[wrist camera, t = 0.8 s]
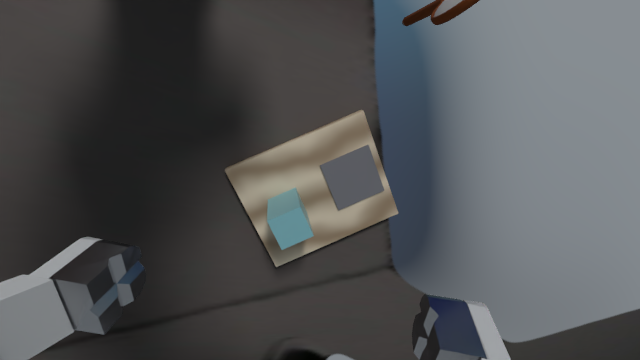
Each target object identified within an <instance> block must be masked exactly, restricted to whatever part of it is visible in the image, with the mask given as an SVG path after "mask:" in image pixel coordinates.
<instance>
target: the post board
mask: <svg viewBox="0 0 640 360" xmlns="http://www.w3.org/2000/svg"><path fill="white" fill-rule="evenodd" d="M366 145H369V147H370V150H371V153H372V156H373V159H374V162H375V165H376V167H377V170H378V173H379V176H380V179H381V182H382V185H383V187H384V191H382V192H380V193H377V194H375V195H373V196H371V197H368V198H366V199H364V200H361V201H359V202H357V203H355V204H352V205H350V206H348V207H345V208H343V209H341V210H338V208H337V206H336V203H335V201H334V198H333V196H332V194H331V191H330V189H329V186H328V184H327V182H326V179H325V177H324V174H323V172H322V170H321V167H320V165H322V164H324V163H326V162H329V161H331V160H333V159H335V158H338V157H340V156H342V155H345V154H347V153H349V152H352V151H354V150H356V149H359V148H361V147H363V146H366ZM225 172H226V174H227V176H228V178H229V180H230V181H231V183H232V185H233V187H234V189H235V191H236V193H237V195H238V196H239V198H240V200H241V202H242V204H243V206H244V208H245V210H246V211H247V213H248V215H249V217H250V219H251V221H252V223H253V225H254V226H255V228H256V230H257V232H258V234H259V236H260V238H261V240H262V241H263V243H264V245H265V247H266V249H267V251H268V253H269V255H270V256H271V258H272V260H273V262H274V264H275V266H276V267H278V266H280V265H283V264H285V263H287V262H289V261H292V260H294V259H296V258H298V257H301V256H303V255H305V254H307V253H310V252H312V251H314V250H317V249H319V248H321V247H323V246H326V245H328V244H330V243H332V242H335V241H337V240H339V239H341V238H344V237H346V236H348V235H351V234H353V233H355V232H357V231H360V230H362V229H364V228H366V227H369V226H371V225H373V224H375V223H378V222H380V221H382V220H385V219H387V218H389V217H391V216H394V215H396V214H398V211H397V208H396V205H395V202H394V199H393V196H392V193H391V191H390V187H389V184H388V181H387V178H386V176H385V173H384V170H383V167H382V164H381V161H380V158H379V155H378V152H377V149H376V146H375V143H374V140H373V137H372V135H371V132H370V129H369V126H368V123H367V120H366V117H365V114H364V111H362V110H360V111H357V112H355V113H353V114H350V115H348V116H346V117H343V118H341V119H339V120H336V121H334V122H332V123H329V124H327V125H325V126H322V127H320V128H318V129H315V130H313V131H311V132H308V133H306V134H304V135H301V136H299V137H297V138H294V139H292V140H290V141H287V142H285V143H283V144H280V145H278V146H276V147H273V148H271V149H269V150H266V151H264V152H262V153H259V154H257V155H255V156H252V157H250V158H248V159H245V160H243V161H241V162H238V163H236V164H234V165H231V166H229V167H227V168H226V169H225ZM295 187H296V189H297V192H298V194H299V196H300V198H301V200H302V203H303V205H304V207H305V209H306V211H307V214H308V217H309V221H310V224H311V228H312V231H313V235H314V236H313V237H311V238H308V239H306V240H304V241H301V242H299V243H297V244H295V245H292V246H290V247H288V248H286V249H283V250H282V249H281V248H280V246H279V244H278V242H277V240H276V238H275V236H274V234H273V232H272V230H271V228H270V226H269V224H268V222H267V208H268V199H270V198H272V197H275V196H277V195H279V194H282V193H284V192H286V191H289V190H291V189H293V188H295Z"/></svg>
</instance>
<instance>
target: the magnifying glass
mask: <svg viewBox="0 0 640 360" xmlns="http://www.w3.org/2000/svg"><path fill="white" fill-rule="evenodd" d="M478 1H479V0H436V1H434V2H432V3H430V4H429V5H427V6H425V7H423V8H421V9H419V10H418V11H416V12H414V13H412V14H410V15H409V16H407V17H405V18H404V19H403V21H402V24H403V25H405V26H408V25H411V24H413V23H415V22H417V21H419V20H422V19H424V18H426V17H428V16H430V15H431V21H432V22H433V24H435V25H439V24H443V23H445V22H447V21H449V20H451V19H452V18H454V17H456V16H458V15H459V14H461V13H462V12H464V11H465V10H467V9H468V8H470V7H471V6H472V5H474V4H475V3H477V2H478Z"/></svg>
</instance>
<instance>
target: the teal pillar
mask: <svg viewBox="0 0 640 360" xmlns="http://www.w3.org/2000/svg"><path fill="white" fill-rule="evenodd" d="M267 222H268V224H269V226H270V228H271V230H272V232H273V234H274V236H275V238H276V240H277V242H278V244H279V246H280V248H281V249H282V250H283V249H286V248H288V247H290V246H292V245H295V244H297V243H299V242H301V241H304V240H306V239H308V238H311V237H313V236H314V235H313V231H312V228H311V224H310V221H309V217H308V214H307V211H306V209H305V207H304V205H303V203H302V200H301V198H300V196H299V194H298V192H297V189H296V187H295V188H293V189H291V190H289V191H286V192H284V193H282V194H279V195H277V196H275V197H272V198H270V199H268V208H267Z"/></svg>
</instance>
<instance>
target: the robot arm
mask: <svg viewBox="0 0 640 360" xmlns="http://www.w3.org/2000/svg"><path fill="white" fill-rule="evenodd" d="M141 257H142V255H141V251H140V248H139V247H137V246H135V245H130V244H125V243H120V242H115V241H109V240H104V239H103V240H102V239H97V238H92V237H84V238H80V239H79V240H77V241H76V242H75V243H73V244H72V245H70V246H69V247H68V248H66V249H65V250H63V251H62V252H61V253H59V254H58V255H56V256H55V257H54V258H52V259H51V260H49V261H48V262H47V263H45V264H44V265H42V266H41V267H40V268H38V269H37V270H35V271H34V272H33V273H31V274H30V275H20V276H17V277H15V278H12V279H9V280H6V281H3V282H1V283H0V360H28V359H30V358H32V357H33V356H35V355H37V354H38V353H40V352H41V351H43V350H45V349H46V348H48V347H50V346H51V345H53V344H55V343H56V342H58V341H60V340H61V339H63V338H65V337H66V336H68V335H69V334H71V333H73V332H74V330H79V331H85V332H91V333H97V334H103V335H105V333H106V332H107V331H108V330H109V329H110V328H111V327H112V325H113V324H114V323H115V322H116V321H117V320H118V319H119V317H120V316H121V315H122V314H123V306H125V305H127V304H129V303H130V302H132V301H134V300H135V299H136V298H137V296H138V295H139V294H140V293H141V291H142V289H143V286H144V284H145V281H146V272H145V268H144V267H143V266H142V265H141V264H140V262H139V260H140V258H141ZM420 309H421V312H420V313H419V314H417V315H416V316H415V319H414V323H413V330H412V344H413V351H414V353H415V355H416V356H417V357H418V359H419V360H511V359H510V357H509V354H508V352H507V350H506V348H505V346H504V343H503V341H502V339H501V337H500V334H499V332H498V330H497V328H496V326H495V324H494V321H493V319H492V317H491V314H490V312H489V310H488V308H487V306H486V305H485V304H484V303H479V302H473V301H466V300H460V299H454V298H447V297H441V296H434V295H428V294H424V295H423V296H422V298H421V301H420Z"/></svg>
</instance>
